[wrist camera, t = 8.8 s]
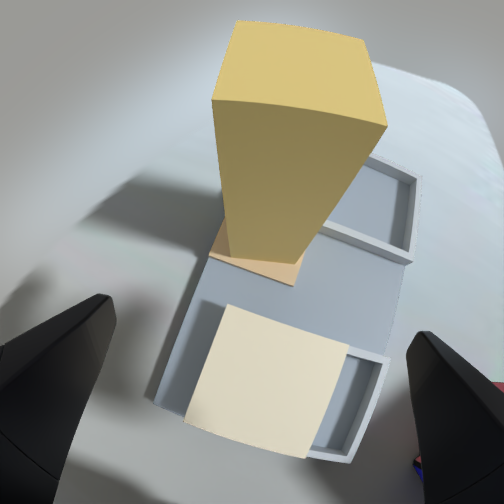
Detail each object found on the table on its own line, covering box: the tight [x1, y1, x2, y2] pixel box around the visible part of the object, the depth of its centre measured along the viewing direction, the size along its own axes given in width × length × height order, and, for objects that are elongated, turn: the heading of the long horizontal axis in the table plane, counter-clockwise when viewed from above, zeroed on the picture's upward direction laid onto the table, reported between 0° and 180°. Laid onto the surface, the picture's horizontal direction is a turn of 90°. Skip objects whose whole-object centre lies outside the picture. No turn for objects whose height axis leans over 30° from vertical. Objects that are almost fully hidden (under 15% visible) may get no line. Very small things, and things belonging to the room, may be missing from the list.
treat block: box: [212, 21, 388, 264], centre depth 12 cm, size 4×4×13 cm
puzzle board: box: [153, 152, 422, 464], centre depth 18 cm, size 22×13×2 cm, turn 160°
